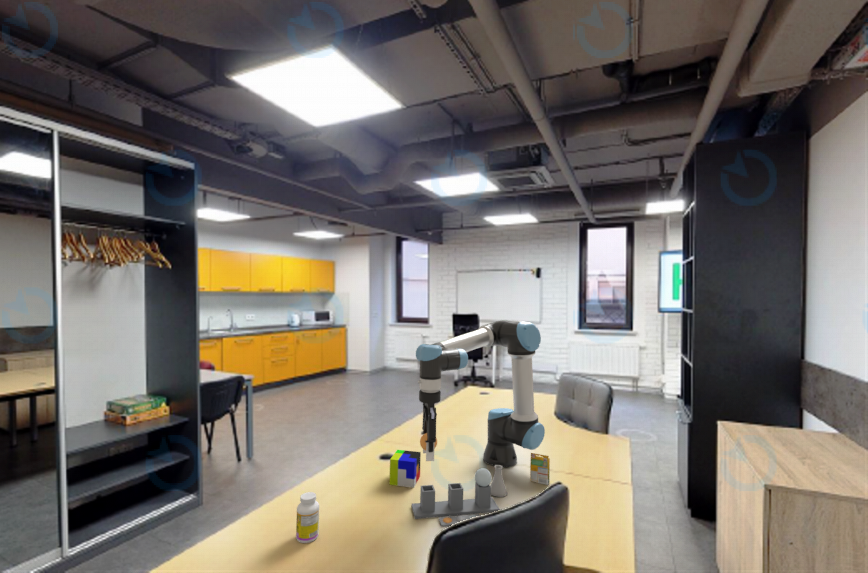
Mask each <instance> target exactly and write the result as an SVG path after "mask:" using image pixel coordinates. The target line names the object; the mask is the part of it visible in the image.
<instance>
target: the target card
mask: <svg viewBox="0 0 868 573" xmlns="http://www.w3.org/2000/svg"><path fill="white" fill-rule="evenodd" d="M476 516H480V517H481V515H480V514H469V515H457V516H445V517H438V520H439V524H440V527H441V526H443V527H451V526H450V525H452V524H455V523H457V522H460V521H463V520H466V519H470V518H472V517H476ZM443 527H442V528H443Z"/></svg>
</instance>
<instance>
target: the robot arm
mask: <svg viewBox="0 0 868 573" xmlns="http://www.w3.org/2000/svg"><path fill="white" fill-rule="evenodd" d="M541 337H542V336H541V332H540V330H539V327H537V325H536V324H534V323H533V322H527V321H523V320H509V319H503V320H502V319H501V320H497V321H493V322H490V323H487V324H483V325H481V326H479V327H478V329H475V330H471V331H470V332H466V333H462V334H460V335H457V336H453V337H451V338H447V339H445V340H442V341H439V342H438V341H437V342H435V343H431V344H428V343H422V344H420V345H418V346H417V348H416V350H415V358H416V361H418V362H419V380H417V384H419V387H418V388H419V391H418V400H419V402H420V403H422V427H421V428H422V433H423V434H422V436H423V435H424V434H425V433H427V440H426V441H425V443H426V451H425V450H424V449H423V448H422V454H425V462H434V461H435V449H434V446H435V442H436V438H437V415H438V414H437V407H436V406H435V404H438V403H439V402H441V398H442V397H441V396H442V395H441V389H442V372H447V371H448V372H449V371H455V370H456V371H457V370H462V369H464V368H466V367H467V366H468V364H469V356H468V353H469V352H472V351H473V350H476V349H480V348H483V347H485V348H490V347H494V346H498V347H505V348H507V351H506V352H507V354H508V355H509V356H510V359H511V374H512V375H511V377H512V378H511V379H512V381H511V382H512V396H513V400H512V401H513V409H512V408H505V407H504V408H503V407H499V408H493V409H491V410H489V411H488V413H487V414H488V415H487V416H488V417H487V443H486V445H485V449H484V451H483V454H482V455H483V456H482V457H483V458H482V459H483V462H484V463H486V464H487V465H489V466H492V467H494V466H495V465H501V466H502V467H503V468H510V467H513V466H515V465H517V463H518V457H517V452H516V449H515V446H514V445H516V446H519V447H521V448H523V449H525V450H531V451H534V450H536V449H537V448H539V447H540V445H541V444H542V442H543V440H544V438H545V434H546V429H545V426H544V424H542V423H541V422H539V414H537V413H536V411H535V399H534V398H535V397H534V394H535V392H534V376H533V373H534V372H533V356H534V355H535V354H536V350H538V349H539V348H540V344H541V341H542V340H541V339H542V338H541Z"/></svg>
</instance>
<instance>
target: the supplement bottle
mask: <svg viewBox="0 0 868 573" xmlns="http://www.w3.org/2000/svg"><path fill="white" fill-rule="evenodd" d="M299 501H300V502H299V504H297V506H296V524H295V525H296V526H295V528H296V529H295V530H296V531H295V533H296V534H295V538H296V541H297V542H299V543H300V544H309V543H313V542H314V541H315V540H317V538H318V537H319V531H320V503H319V502H318V501H317V494H316V493H315V492H314V491H308V492H303V493H301V495H300V499H299Z"/></svg>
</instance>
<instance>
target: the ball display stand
mask: <svg viewBox="0 0 868 573" xmlns="http://www.w3.org/2000/svg"><path fill="white" fill-rule="evenodd" d="M447 484H448V486H447V487H448V488H447V490H448V491H447V500H441V501H436V489H435V486H434V485H433V484H426V485H425V484H424V485H420V491H419V492H420V495H419V496H420V497H419V498H420V499H419V500H420V501H419V502H417V503H415V502H414V503H411V509H412V514H413V518H414V520H419V519H431V518H432V519H433V518H439V517H450V516H462V515H474V514H479V515H480V514H489V513H490V514H491V512H492V513H495V512H494V511H498V510H500V511H501V509H500V507H499V506H498V504H497V502H496V500H494V497H491V496H492V495H491V484H489V485H488V486H486V487H482V486H479V485H478V484H477V483H476V481H475V484H474V485H475V487H474V498H467V499H464V487H463V485H462V483H461V482H453V483H447Z"/></svg>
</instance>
